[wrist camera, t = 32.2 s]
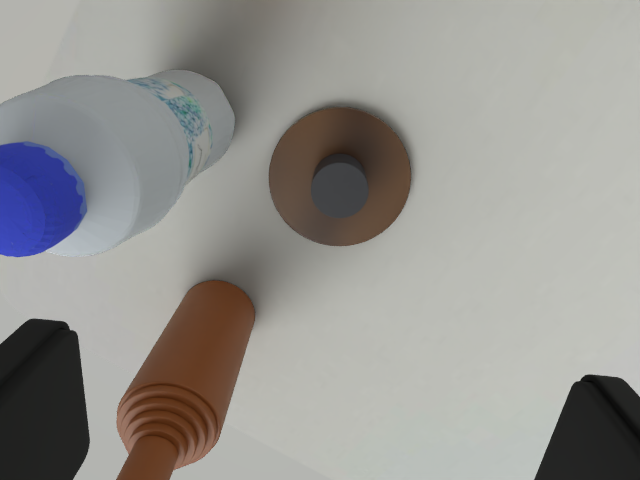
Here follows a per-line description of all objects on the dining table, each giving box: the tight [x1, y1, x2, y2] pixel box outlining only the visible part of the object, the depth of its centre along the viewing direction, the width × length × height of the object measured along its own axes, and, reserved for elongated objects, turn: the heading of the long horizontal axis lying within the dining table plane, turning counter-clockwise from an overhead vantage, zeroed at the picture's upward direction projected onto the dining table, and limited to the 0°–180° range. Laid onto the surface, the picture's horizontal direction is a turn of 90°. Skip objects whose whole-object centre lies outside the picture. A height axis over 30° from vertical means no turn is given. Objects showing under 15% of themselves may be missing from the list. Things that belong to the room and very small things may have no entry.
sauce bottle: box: [116, 280, 255, 480], centre depth 29 cm, size 6×6×18 cm
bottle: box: [0, 70, 235, 257], centre depth 22 cm, size 7×7×20 cm
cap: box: [311, 154, 369, 218], centre depth 31 cm, size 4×4×3 cm
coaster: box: [269, 107, 411, 246], centre depth 32 cm, size 10×10×1 cm
